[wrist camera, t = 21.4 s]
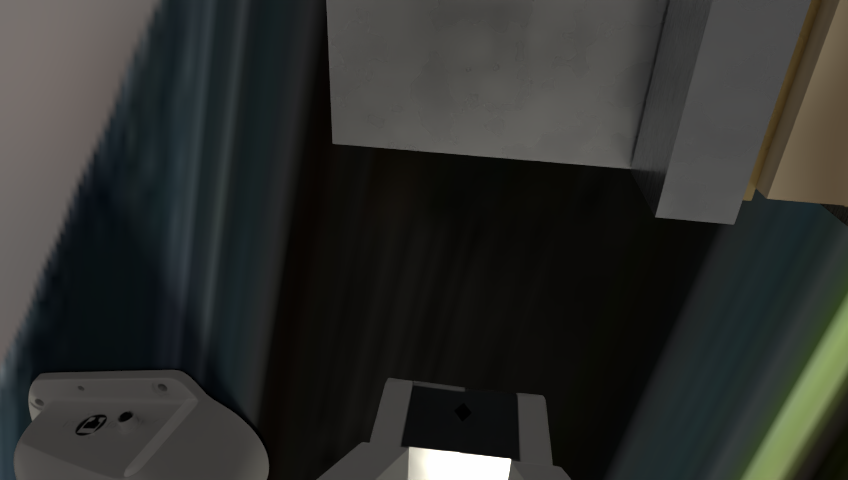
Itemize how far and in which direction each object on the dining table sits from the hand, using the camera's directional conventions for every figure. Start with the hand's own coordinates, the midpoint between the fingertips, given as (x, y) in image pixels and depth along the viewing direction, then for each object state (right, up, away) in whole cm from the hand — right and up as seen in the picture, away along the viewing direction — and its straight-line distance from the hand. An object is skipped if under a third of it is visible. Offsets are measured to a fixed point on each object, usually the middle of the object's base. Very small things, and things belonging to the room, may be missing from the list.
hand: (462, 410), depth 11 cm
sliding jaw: (+13, +13, +16) cm, 24 cm away
